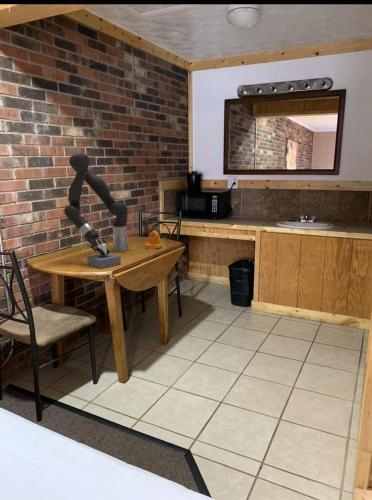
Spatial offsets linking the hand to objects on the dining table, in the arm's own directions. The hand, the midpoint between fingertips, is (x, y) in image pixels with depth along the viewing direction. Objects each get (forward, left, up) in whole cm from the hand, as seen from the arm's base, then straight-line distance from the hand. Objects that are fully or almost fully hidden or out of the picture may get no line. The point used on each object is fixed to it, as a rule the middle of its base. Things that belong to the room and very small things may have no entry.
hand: (106, 254), depth 216 cm
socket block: (+1, -2, -7) cm, 7 cm away
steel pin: (+1, -2, -4) cm, 4 cm away
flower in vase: (-54, -61, -7) cm, 82 cm away
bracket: (-51, -16, -7) cm, 54 cm away
